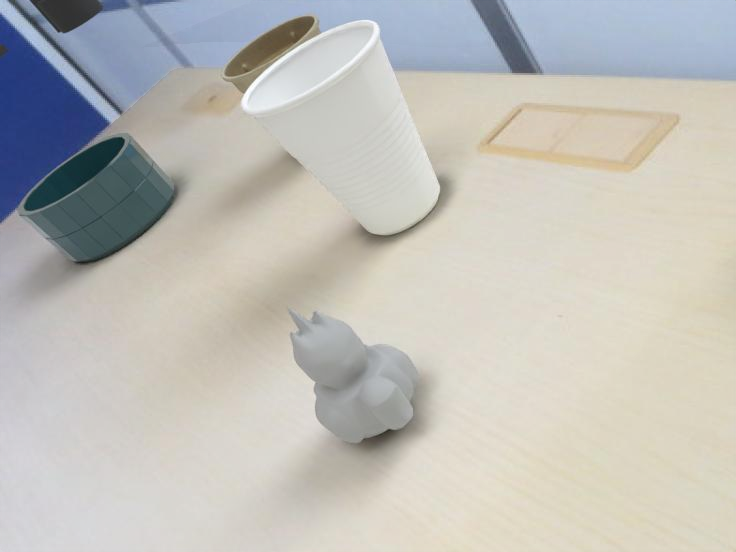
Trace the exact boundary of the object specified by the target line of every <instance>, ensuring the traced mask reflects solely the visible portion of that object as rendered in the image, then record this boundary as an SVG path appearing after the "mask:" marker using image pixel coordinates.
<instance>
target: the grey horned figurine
mask: <svg viewBox="0 0 736 552" xmlns="http://www.w3.org/2000/svg"><path fill="white" fill-rule="evenodd" d="M285 307H286V310H287V312H288V314H289V317H290V318H291V319H292V320H293V323H294V324H295V326H296V328H297V329H298V330H297V331H295V332H293V331H290V332H289V337H290V341H291V345H292V351H293V353H292V354H293V359H294V362H295V363H296V365H297V366H298V367H299V369H300V370H302V372H303V373H304V374H305V375H306V376H307V377H308V378H309V379H310V380H312V381H313V382H315V383H314V385H313V393H314V395H315V402H314V413H315V417H316V419H317V421H318V423H320V425H321V426H323V427H324V428H325V429H326V430H327V431H329V432H330V433H331V434H333V435H334V436H335V437H337V438H338V439H339V440H341V441H343V442H345V443H348V444H359V443H361V442H362V441H363V440H364V439H371V438H373V437H375V436H378V435H380V434H383V433H385V432H386V431H388V430H393V431H397V430H400V429H403V428H404V427H405V426H406V425H407V424H408V423H409V422H410V421H412V419H413V417H414V407H413V406H412V404H411V401H412V398H413V395H414V389H415V388H417V387H418V385H419V383H420V376H419V371H418V369H417V367H416V366H415V364H414V362H413V361H412V359H411V358H410V356H409V355H408V354H407V353H406V352H404V351H402V350H400V349H399V348H397V347H395V346H392V345H390V344H386V343H385V344H384V343H379V344H373V345H368V344H364V342H363V341H362V339H361V338H360V337H359V335H358V334H357V333H356V332H355V330H354V329H353V328H352V327H351V326H350V325H349V324H348V323H347V322H346V321H344V320H340V319H338V318H335V317H332V316H330V315H327V314H325V313H323V312H320V311H318V310H313V311H312V316H311V317H310V318H309V319H308V318H306V317H305V316H304V315H302V314H301V313H299V312H298V311H296V310H294V309H292V308H291V307H289V306H288V305H286V306H285Z"/></svg>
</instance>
